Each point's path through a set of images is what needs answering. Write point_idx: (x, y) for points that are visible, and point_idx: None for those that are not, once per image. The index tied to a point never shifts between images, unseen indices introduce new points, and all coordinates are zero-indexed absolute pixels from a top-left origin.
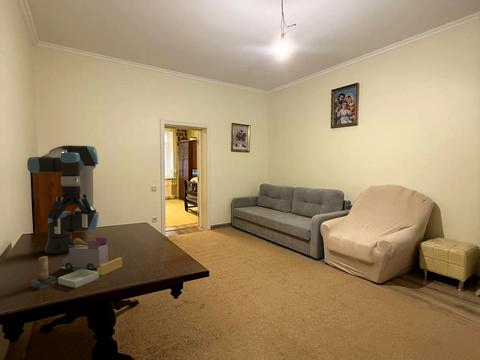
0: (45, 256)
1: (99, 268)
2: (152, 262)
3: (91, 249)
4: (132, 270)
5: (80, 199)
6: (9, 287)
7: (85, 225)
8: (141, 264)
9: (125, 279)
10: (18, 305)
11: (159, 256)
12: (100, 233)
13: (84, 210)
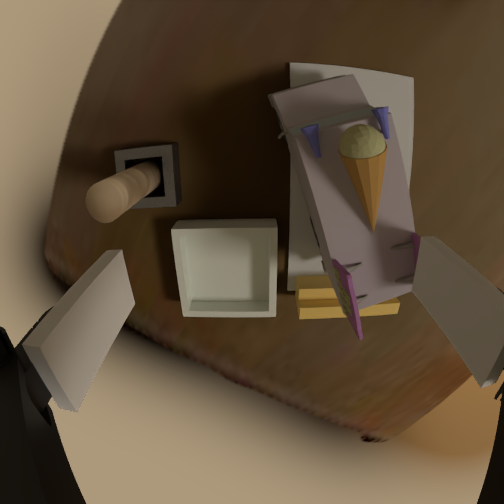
0: (115, 195)
1: (300, 298)
2: (433, 338)
3: (335, 277)
4: (365, 338)
5: None
6: (90, 91)
7: (423, 292)
8: (415, 325)
9: (300, 367)
10: (65, 252)
11: None
12: None
13: (496, 438)
